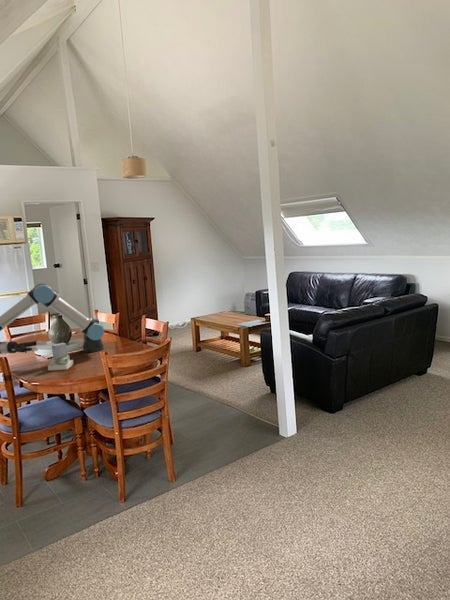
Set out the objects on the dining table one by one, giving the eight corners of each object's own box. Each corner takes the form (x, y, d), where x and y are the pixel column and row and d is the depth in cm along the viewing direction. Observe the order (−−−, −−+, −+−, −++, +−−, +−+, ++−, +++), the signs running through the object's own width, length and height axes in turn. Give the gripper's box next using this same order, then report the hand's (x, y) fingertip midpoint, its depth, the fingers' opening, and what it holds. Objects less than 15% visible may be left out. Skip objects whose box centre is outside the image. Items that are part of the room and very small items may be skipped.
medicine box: (64, 355, 295) (62, 342, 293) (67, 356, 292) (66, 343, 290) (53, 358, 289) (51, 345, 287) (56, 359, 286) (55, 346, 285)
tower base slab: (73, 364, 297) (73, 359, 296) (67, 370, 285) (66, 365, 284) (55, 365, 297) (54, 360, 297) (48, 371, 285) (47, 366, 285)
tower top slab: (69, 359, 296) (69, 354, 296) (67, 364, 287) (66, 358, 286) (53, 361, 295) (53, 356, 294) (50, 365, 285) (50, 360, 284)
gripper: (19, 348, 303) (50, 346, 302) (0, 358, 278) (34, 356, 277) (17, 337, 301) (49, 335, 301) (-2, 346, 277) (32, 345, 276)
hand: (42, 345), depth 289 cm, fingers open, 13 cm apart
